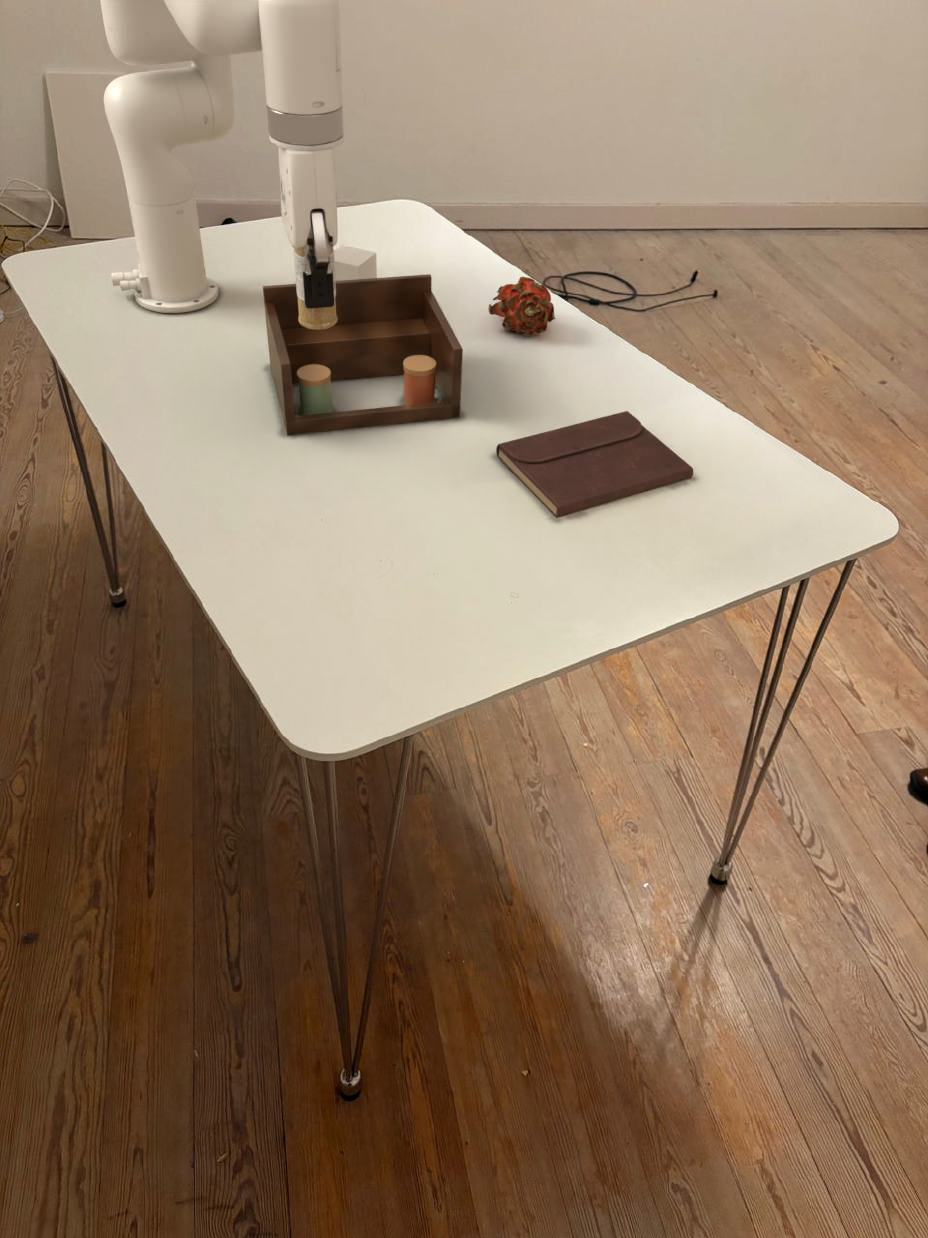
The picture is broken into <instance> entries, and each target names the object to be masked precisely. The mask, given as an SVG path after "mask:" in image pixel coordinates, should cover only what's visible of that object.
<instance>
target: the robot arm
mask: <svg viewBox="0 0 928 1238" xmlns="http://www.w3.org/2000/svg"><path fill="white" fill-rule="evenodd" d="M99 2H100V8H101V15H102V21H103V26H104V27H103V28H104V32H105V36H106V41H107V44H108V47H109V50H110V51H111V53H112V55H113V56H114V58H115V59H117V60H118V61H119V62H120V63H123V64H125V65H128V66H154V65H165V64H166V65H167V64H174V63H182V62H191V65H190V66H185V67H178V68H170V69H157V70H156V69H155V70H149V71H139V72H133V73H127V74H124V75H122V76H118V77H116V78H115V79H113V80H112V81H111V82H110V83H108V85H107V86H106V88H105V90H104V93H103V108H104V112H105V116H106V120H107V122H108V126H109V128H110V132H111V134H112V137H113V140H114V143H115V146H116V149H117V153H118V156H119V161H120V164H121V169H122V174H123V179H124V184H125V189H126V195H127V200H128V205H129V210H130V211H129V212H130V217H131V223H132V227H133V233H134V234H133V235H134V240H135V244H136V251H137V255H138V256H137V257H138V263H137V265H138V268H135V269H132V271H114V272H111V273H110V275H111V283H112V285H113V287H114V286H116V287H117V286H120V290H121V291H131V290H134V297H135V301H136V303H137V304H138V305H140V306H141V307H142V308H144V309H146V310H150V311H152V312H157V313H164V314H181V313H189V312H194V311H198V310H201V309H203V308H205V307H207V306H210V305H211V304H213V303H214V302H215V301H216V300H217V298H218V296H219V287H218V284H217V283H216V281H214V280H213V279H212V278H210V277H209V276H207V272H206V265H205V259H204V250H203V242H202V236H201V229H200V222H199V221H200V220H199V215H198V209H197V208H198V207H197V206H198V205H197V199H196V198H197V197H196V193H195V185H194V180H193V178H192V177H193V176H192V175H191V173H190V171H189V170H188V169H187V167H186V166H185V165H184V164H183V163H182V162H181V161H180V160H179V159H178V158H176V156H175V155H173V153H172V149H173V148H176V147H182V146H187V145H192V144H199V143H206V142H211V141H216V140H221V139H223V138H225V137H227V136H228V135H229V134H230V133H231V131H232V129H233V125H234V119H235V118H234V117H235V107H234V106H235V105H234V89H233V73H232V59H231V55H240V54H249V53H258V52H262V67H263V77H264V89H265V102H266V111H267V112H266V114H267V126H268V138H269V142H270V143H271V144H273V145H274V146H276V147H278V167H279V168H278V169H279V189H280V211H281V220H282V224H283V228H284V231H285V234H286V236H287V239H288V242H289V244H290V246H291V247H292V248H293V250H294V249H298V248H299V247H303V250H304V261H305V272H303V284H304V298H305V306H306V308H308V309H310V308H323V307H332V306H334V286H333V271H332V266H331V253H330V245H331V247H333V248H334V247H335V246H336V245H337V244H338V233H339V232H338V231H339V230H338V201H337V200H338V199H337V180H336V179H337V177H336V165H335V164H336V163H335V149H334V148H336V147H338V146H340V145H342V144H343V143H344V141H345V135H344V134H345V131H344V130H345V129H344V106H343V103H344V101H343V100H344V99H343V75H342V74H343V73H342V47H341V46H342V45H341V22H340V21H341V20H340V18H341V17H340V3H339V0H99ZM310 219H311V220H310ZM312 238H313V242H314V243H307V239H312ZM310 251H315V253H314V255H313V256H311V259H310Z"/></svg>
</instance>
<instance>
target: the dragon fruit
mask: <svg viewBox="0 0 928 1238" xmlns="http://www.w3.org/2000/svg"><path fill="white" fill-rule="evenodd" d="M496 293H498V294H497V295H496V296H495V297H493V298H492V301H496V300H497V301H498V302H495V303H494V304H493V305H492V303H490V304H488V309H487V311H488V313H489V315H491V316H498V317H501V318H503V320H502V324H501V326H502V327H503V329H505V330H506V331H508V332H511V331H516V332H517V334H519V335H522V336H526V337H531V336H532V335H534V334H537V335H540V334H543V333H545V332H546V331H547V328H548V325H549V323H551V322H553V321H554V320H556V316H555V307H554V304H553V302H552V296H551V293H550V291H549V290H548V288H547V287H546V286H545V285H544V284H540V283H539V282H538V281H536V280H534V279H533V278H532V277H527V276H520V277H519V279H518V281H517V283H515V284H513V283H507V284H505V285H501V286H499V287H498V290H496Z"/></svg>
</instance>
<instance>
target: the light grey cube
mask: <svg viewBox="0 0 928 1238" xmlns="http://www.w3.org/2000/svg"><path fill="white" fill-rule="evenodd" d="M334 261H335V281H342V280H356V279H370V278H378V275H377V272H378V271H377V269H378V268H377V252H375V251H373V250H367V249H362V248H358V247H355V246H354V247H353V246H349V245H346V244H345V245H344V244H342V245H341V246H339V247H338V248H337V249H335V250H334Z"/></svg>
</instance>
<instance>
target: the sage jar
mask: <svg viewBox="0 0 928 1238" xmlns="http://www.w3.org/2000/svg"><path fill="white" fill-rule="evenodd" d="M297 380H298V384H297V388H298V399H299V411H300V412H299V413H300V416H301V415H311V414H321V413H331V412H333V398H332V381H331V371H330V369H329V368H328V367H326V366H323V365H318V364H311V365H305V366H303V367H301V368H299V369H298V371H297Z"/></svg>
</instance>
